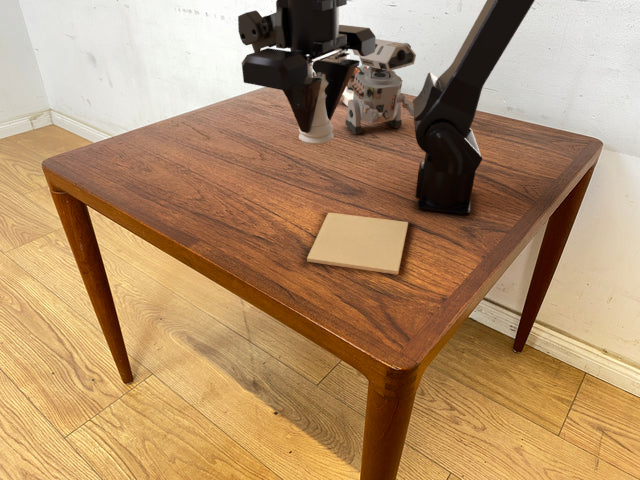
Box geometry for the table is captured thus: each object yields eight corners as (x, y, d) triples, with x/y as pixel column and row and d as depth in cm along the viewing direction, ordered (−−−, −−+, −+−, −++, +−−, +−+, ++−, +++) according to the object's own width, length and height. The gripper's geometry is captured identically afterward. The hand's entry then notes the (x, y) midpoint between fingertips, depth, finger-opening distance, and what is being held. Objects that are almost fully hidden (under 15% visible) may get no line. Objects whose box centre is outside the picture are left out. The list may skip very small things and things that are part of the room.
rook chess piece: (298, 147, 60) (294, 81, 55) (299, 133, 63) (295, 70, 59) (334, 146, 60) (334, 80, 55) (333, 132, 63) (332, 69, 59)
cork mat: (408, 225, 59) (408, 221, 59) (398, 275, 52) (398, 271, 51) (328, 215, 62) (328, 212, 61) (307, 261, 54) (306, 258, 53)
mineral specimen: (357, 73, 107) (362, 43, 101) (391, 103, 101) (399, 73, 96) (312, 88, 102) (315, 57, 96) (345, 120, 96) (350, 89, 91)
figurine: (369, 148, 79) (374, 51, 70) (342, 124, 88) (343, 35, 79) (419, 140, 81) (429, 45, 73) (387, 117, 90) (393, 30, 82)
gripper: (302, -27, 62) (307, 95, 71) (193, -8, 49) (215, 137, 58) (380, -24, 57) (374, 108, 65) (280, -1, 44) (290, 158, 53)
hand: (316, 126), depth 61 cm, fingers closed on rook chess piece, 4 cm apart
